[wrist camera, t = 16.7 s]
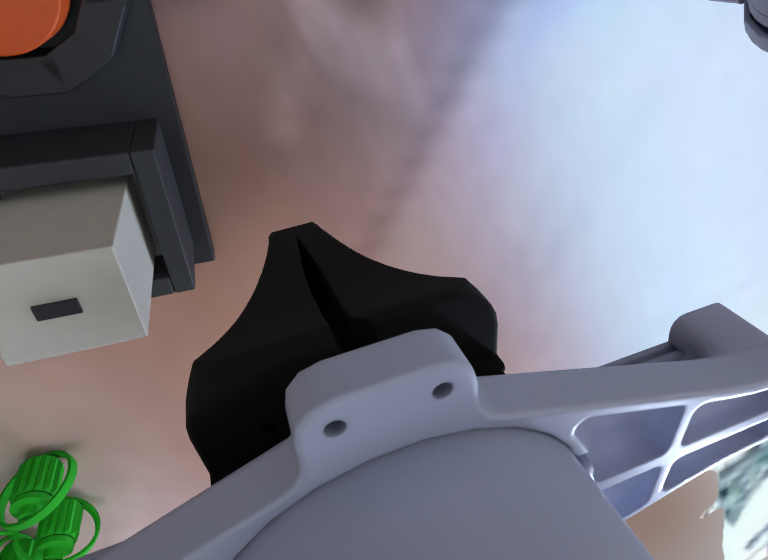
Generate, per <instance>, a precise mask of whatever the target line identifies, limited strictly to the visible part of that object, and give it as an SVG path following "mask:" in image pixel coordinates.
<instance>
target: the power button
mask: <svg viewBox="0 0 768 560" xmlns="http://www.w3.org/2000/svg"><path fill="white" fill-rule="evenodd" d="M70 4H71V0H0V56H15V55H20V54H24V53H27V52H30V51H32V50H34V49H36V48H37V47H39V46H40V45H42V44H43V43H45V42H46V41H47V40H49V39H50V38H52V37H53V36H54V35H55V34H56V33H57V32H58V31H59V30H60V29H61V28H62V26H63V25H64V23H65V21H66V19H67V17H68V13H69V10H70Z"/></svg>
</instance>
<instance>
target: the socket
mask: <svg viewBox="0 0 768 560" xmlns="http://www.w3.org/2000/svg"><path fill="white" fill-rule="evenodd" d="M123 175H132V178H133V181H134V184H135V187H136V190H137V193H138V196H139V199H140V202H141V204H142V207H143V210H144V213H145V216H146V219H147V222H148V225H149V228H150V231H151V234H152V237H153V240H154V243H155V246H156V247H155V258H154V269H153V281H152V292H151V298H152V297H157V296H162V295H167V294H172V293H174V291H175V292H182V291H187V290H192V289H195V270H194V244H193V240H192V236H191V233H190V229H189V226H188V222H187V219H186V215H185V212H184V208H183V205H182V201H181V198H180V194H179V191H178V187H177V183H176V180H175V176H174V173H173V169H172V166H171V162H170V159H169V155H168V152H167V148H166V145H165V141H164V138H163V134H162V130H161V127H160V123H159V120H158V119H157V118H154V119H145V120H138V121H137V122H136V121H127V122H117V123H108V124H99V125H90V126H81V127H72V128H63V129H54V130H45V131H36V132H27V133H18V134H9V135H0V200H1V198H2V197H3V195H4V194H5V193H6V191H13V190H20V189H28V188H35V187H42V186H50V185H57V184H65V183H72V182H79V181H87V180H94V179H101V178H109V177H116V176H123Z"/></svg>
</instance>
